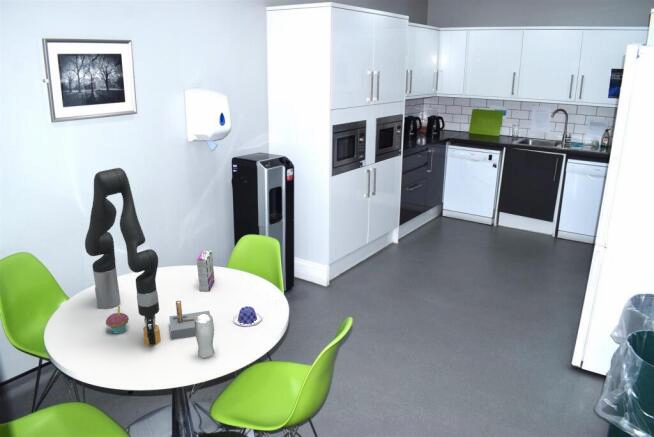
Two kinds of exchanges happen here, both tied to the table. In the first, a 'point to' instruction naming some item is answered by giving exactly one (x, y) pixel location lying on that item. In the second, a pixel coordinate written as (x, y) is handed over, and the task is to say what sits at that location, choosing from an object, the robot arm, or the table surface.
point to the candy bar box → (205, 270)
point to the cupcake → (117, 321)
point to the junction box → (184, 325)
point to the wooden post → (179, 311)
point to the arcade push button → (157, 335)
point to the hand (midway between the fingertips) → (152, 339)
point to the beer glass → (204, 335)
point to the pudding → (247, 316)
